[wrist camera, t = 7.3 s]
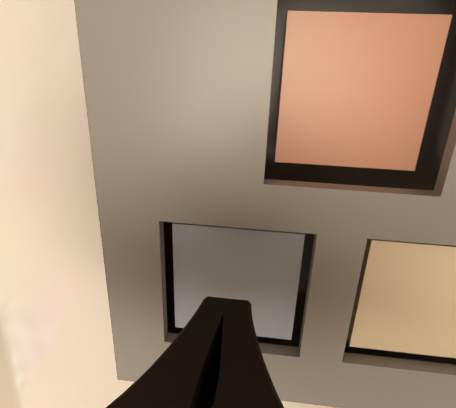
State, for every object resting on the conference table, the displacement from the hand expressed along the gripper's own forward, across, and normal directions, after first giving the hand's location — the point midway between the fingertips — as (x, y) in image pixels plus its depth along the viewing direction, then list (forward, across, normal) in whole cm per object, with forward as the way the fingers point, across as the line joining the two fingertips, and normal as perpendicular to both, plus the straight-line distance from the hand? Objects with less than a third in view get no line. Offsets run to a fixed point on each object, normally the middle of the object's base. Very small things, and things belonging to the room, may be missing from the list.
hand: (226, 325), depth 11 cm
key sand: (+4, -7, 0) cm, 8 cm away
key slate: (+4, 0, 0) cm, 4 cm away
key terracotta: (+4, -3, -7) cm, 9 cm away
